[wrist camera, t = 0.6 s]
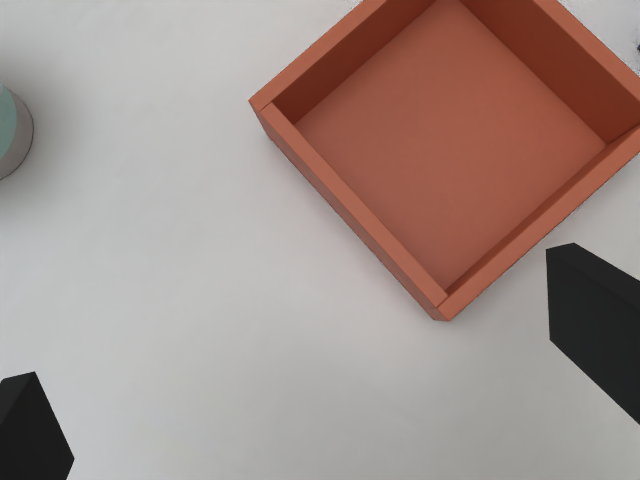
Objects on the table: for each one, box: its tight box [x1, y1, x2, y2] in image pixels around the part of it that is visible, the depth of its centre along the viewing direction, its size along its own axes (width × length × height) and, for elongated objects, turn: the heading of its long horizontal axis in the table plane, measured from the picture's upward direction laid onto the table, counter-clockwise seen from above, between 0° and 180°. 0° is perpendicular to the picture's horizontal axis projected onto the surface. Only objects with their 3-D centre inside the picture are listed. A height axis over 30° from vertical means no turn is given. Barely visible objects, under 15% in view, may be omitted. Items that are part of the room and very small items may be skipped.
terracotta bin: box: [248, 0, 640, 321], centre depth 27 cm, size 14×14×5 cm
